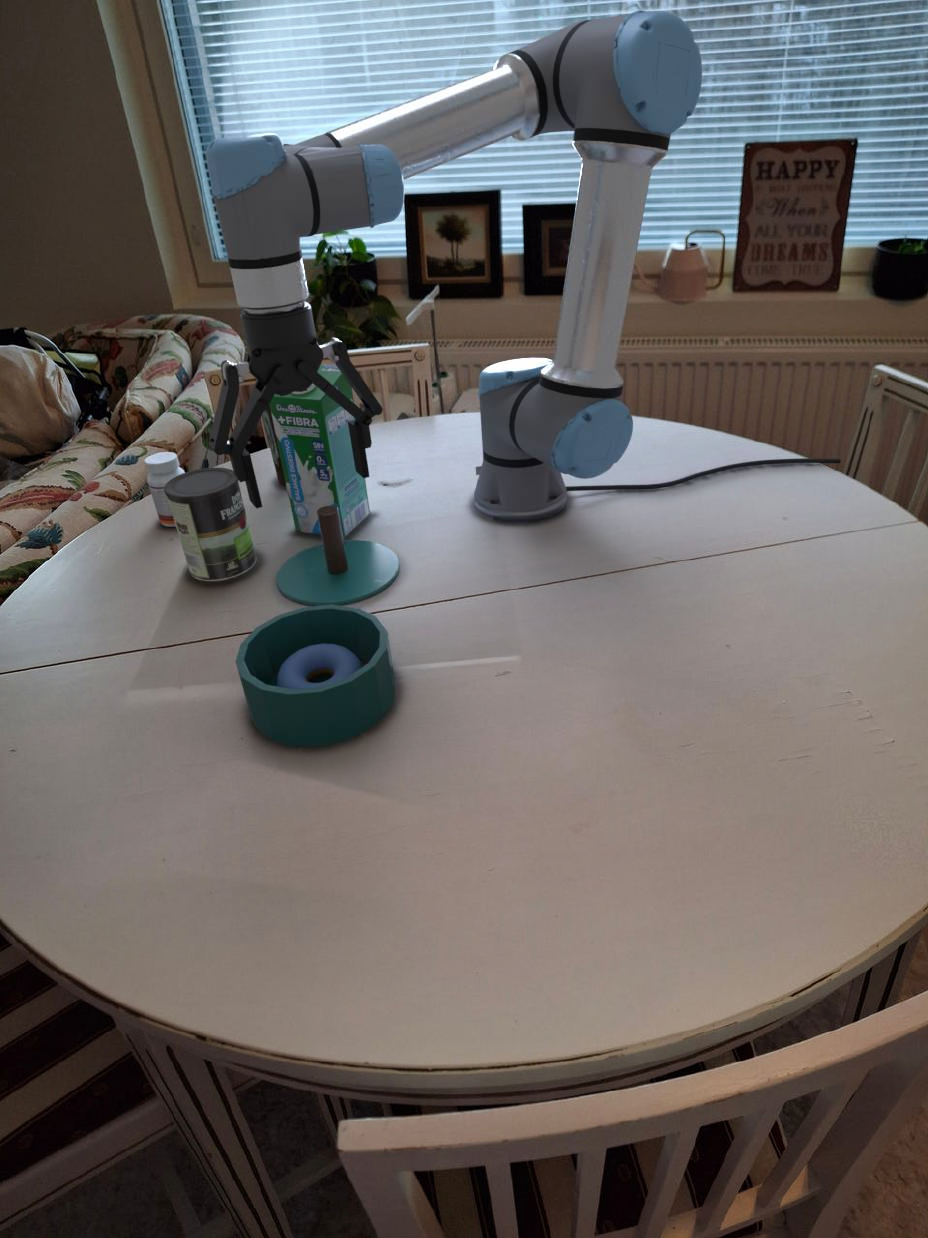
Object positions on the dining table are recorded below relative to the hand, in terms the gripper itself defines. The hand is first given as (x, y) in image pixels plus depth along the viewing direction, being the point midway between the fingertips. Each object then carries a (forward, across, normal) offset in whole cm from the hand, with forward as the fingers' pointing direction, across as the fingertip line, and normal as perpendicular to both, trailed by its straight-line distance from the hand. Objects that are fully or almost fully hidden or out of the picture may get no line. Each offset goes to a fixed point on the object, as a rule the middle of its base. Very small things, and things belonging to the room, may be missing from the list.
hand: (310, 488), depth 97 cm
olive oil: (+20, -12, -48) cm, 53 cm away
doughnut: (+19, +7, +15) cm, 25 cm away
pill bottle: (+19, +12, -45) cm, 50 cm away
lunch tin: (+19, +7, +15) cm, 25 cm away
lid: (+19, -4, -11) cm, 22 cm away
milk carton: (+20, -10, -27) cm, 35 cm away
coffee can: (+19, +9, -24) cm, 32 cm away
